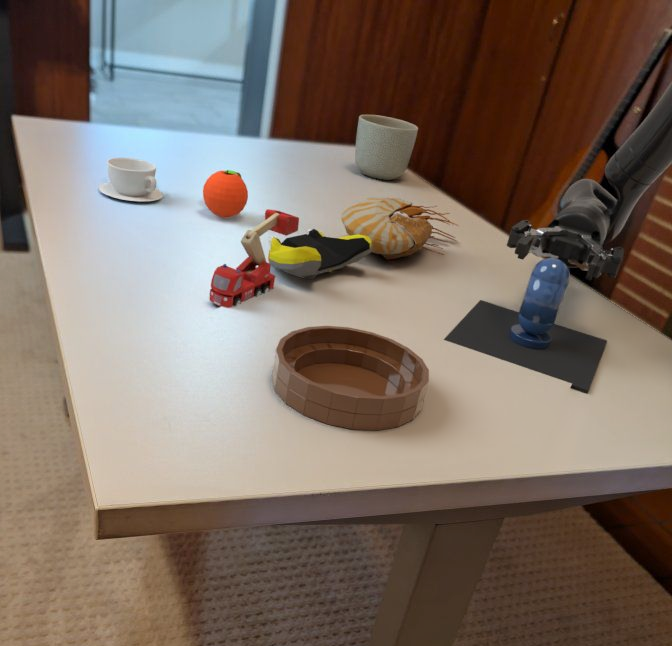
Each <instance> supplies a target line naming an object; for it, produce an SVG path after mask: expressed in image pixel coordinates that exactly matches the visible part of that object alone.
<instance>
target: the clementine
mask: <svg viewBox="0 0 672 646" xmlns="http://www.w3.org/2000/svg"><path fill="white" fill-rule="evenodd" d="M247 187H248V186H247V185H246V183H245V181H244V179H243V178H242V174H241V173H240V172H238V171H234V170H232V169H231V170H230V169H226V170H218V171H216V172H214V173H212V174H211V175H209V177H208V178H207V179H206V180H205V183H204V184H203V189H202V197H203V201H204V204H205V206H206V207H207V209H208V210H209V211H210V212H211V213H212V214H214V215H215V216H217V217H219V218H223V219H224V218H227V219H228V218H232V217H235V216H237V215H239V214H240V213H241V212H243V210H244V208H245V207H246V206H247V202H248V199H249V191H248V188H247Z"/></svg>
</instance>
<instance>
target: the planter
mask: <svg viewBox="0 0 672 646" xmlns="http://www.w3.org/2000/svg"><path fill="white" fill-rule="evenodd" d="M418 131H419V127H418V126H417V125H416V124H414V123H411V122H409V121H405V120H403V119H398V118H395V117H389V116H386V115H380V114H379V115H377V114H360V115H359V116H358V121H357V129H356V136H355V145H354V147H355V148H354V163H355V165H356V167H357V169H358V171H360V172H361V173H362V174H363V175H365V176H367V177H369V178H372V179H376V178H377V180H382V179H383V181H393V179H394V180H396V179H398V178H400V177H402V175H404V174H405V172H406V171H407V168H408V166H409V164H410V160H411V157H412V153H413V150H414V148H415V143H416V139H417V136H418Z"/></svg>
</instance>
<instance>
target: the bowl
mask: <svg viewBox="0 0 672 646" xmlns="http://www.w3.org/2000/svg"><path fill="white" fill-rule="evenodd" d="M429 381H430V369H429V368H428V366H427V365H426V363H425V361H424V360H423V358H422V357H421V356H419V355H418V354H417V353H415V352H414V351H413V350H412V349H410V348H409V347H408V346H406V345H403V344H402V343H400V342H398V341H396V340H394V339H392V338H389V337H387V336H384V335H381V334H378V333H375V332H373V331H368V330H364V329H359V328H354V327H349V326H337V325H318V326H317V325H316V326H307V327H304V328H299V329H295V330H293V331H291V332H288V333H287V334H286V335H284V336H283V337H281V338H280V339H279V341H278V343H277V346H276V348H275V352H274V360H273V367H272V375H271V382H272V386H273V389H274V392H275V393H276V394H277V395H278V397H279V398H280V399H281V400H282V401H283V403H285V404H286V405H287V406H288V407H290V408H292V409H293V410H295V411H296V412H298V413H300V414H302V415H303V416H305V417H308V418H311V419H313V420H316V421H318V422H321V423H323V424H326V425H330V426H334V427H339V428H343V429H344V428H345V429H349V430H361V431H381V430H389V429H393V428H399V427H401V426H403V425H404V424H406V423H409V422H411V421H413V420H414V419H415V418H416V416H417V415H418V414H419V413H420V412H421V410H422V408H423V403H424V400H425V396H426V393H427V390H428V389H427V388H428V385H429Z"/></svg>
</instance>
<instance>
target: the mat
mask: <svg viewBox="0 0 672 646" xmlns="http://www.w3.org/2000/svg"><path fill="white" fill-rule="evenodd" d="M518 314H519V311H517V310H513V309H510V308H507V307H504V306H501V305H497V304H495V303H492V302H488V301H485V300H483V299H480V300H479V301H478V302H477V303H476V304H475V305H474V306H473V307H472V308H471V309H470V310H469V312H468V313H467V314H466V315H464V317H463V318H462V319H461V320H460V321H459V322H458V323H457V324H456V325H455V326H454V327H453V329H452V330H451V331H450V332H448V334H447V335H446V336H445V338H444V339H443V341H446V342H449V343H452V344H454V345H458V346H460V347H463V348H467V349H469V350H471V351H472V350H473V351H476V352H478V353H481V354H484V355H486V356H489V357H492V358H496V359H499V360H501V361H504V362H507V363H510V364H513V365H516V366H518V367H522V368H524V369H528V370H530V371H534V372H537V373H540V374H543V375H546V376H549V377H552V378H554V379H557V380H560V381H563V382H567V383H569V384H571V385H570V388H571V389H573V390H576V391H580V392H582V393H585V394H588V393H589V391H590V389H591V386H592V384H593V380H594V378H595V375H596V373H597V370H598V367H599V364H600V362H601V359H602V357H603V354H604V352H605V348H606V346H607V343H608V340H607V339H603V338H601V337H597V336H595V335H591V334H589V333H585V332H581V331H580V330H579V331H578V330H576V329H573V328H569V327H566V326H563V325H560V324H558V323H554V325H553V326H552V328H551V329H550V330H549V331H547V333H548V334H549V335H550V336H551V342H550V344H549V347H547V348H545V349H533V348H528V347H525V346H522V345H520V344H518V343H516V342H514V341H513V340H512V339H511V338H510V337H509V333H510V330H511V327H512V326H514V325H519V320H518Z"/></svg>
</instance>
